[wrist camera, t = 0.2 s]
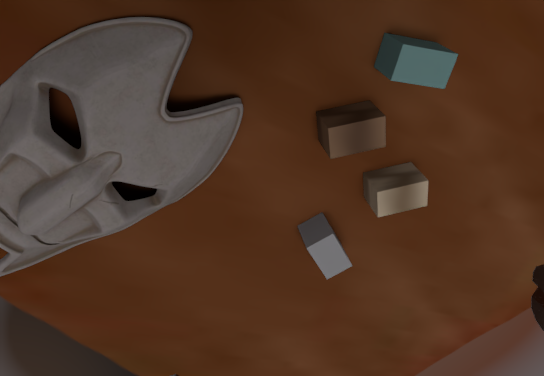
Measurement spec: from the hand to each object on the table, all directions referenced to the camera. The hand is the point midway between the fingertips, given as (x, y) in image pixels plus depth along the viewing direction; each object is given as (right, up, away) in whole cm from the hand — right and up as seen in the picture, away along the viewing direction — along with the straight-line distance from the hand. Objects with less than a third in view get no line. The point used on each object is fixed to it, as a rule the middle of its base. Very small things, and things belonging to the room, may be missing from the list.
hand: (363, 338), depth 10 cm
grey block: (+4, -3, +49) cm, 49 cm away
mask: (-20, +8, +38) cm, 43 cm away
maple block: (+12, +4, +47) cm, 48 cm away
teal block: (+12, +17, +39) cm, 44 cm away
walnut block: (+6, +11, +41) cm, 43 cm away
